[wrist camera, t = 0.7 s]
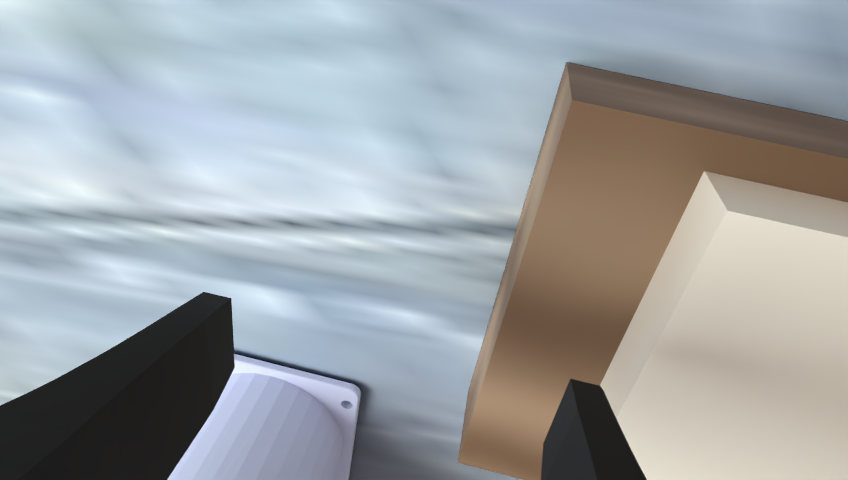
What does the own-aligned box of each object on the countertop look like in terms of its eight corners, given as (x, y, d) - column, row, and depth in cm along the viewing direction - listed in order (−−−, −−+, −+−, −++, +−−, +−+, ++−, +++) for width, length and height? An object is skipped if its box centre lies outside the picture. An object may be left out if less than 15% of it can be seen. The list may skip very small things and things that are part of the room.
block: (785, 488, 18) (810, 547, 17) (575, 435, 19) (579, 487, 17) (1008, 237, 13) (1078, 288, 11) (703, 171, 13) (728, 210, 12)
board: (778, 469, 23) (813, 554, 20) (468, 391, 23) (457, 462, 21) (1039, 161, 15) (1160, 225, 12) (566, 62, 16) (572, 100, 13)
